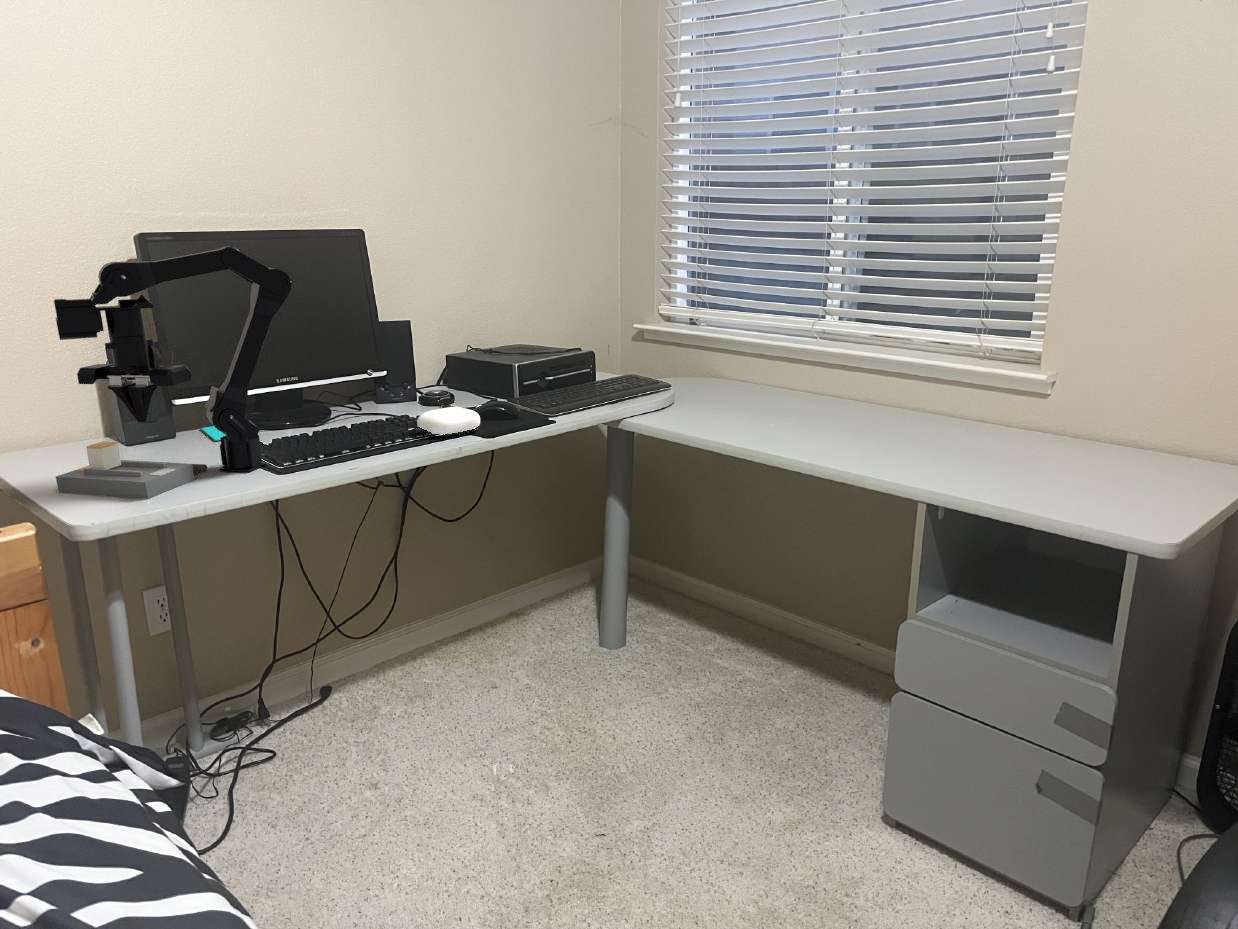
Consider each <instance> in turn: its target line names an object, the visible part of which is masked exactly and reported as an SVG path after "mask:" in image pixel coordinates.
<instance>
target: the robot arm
mask: <svg viewBox="0 0 1238 929" xmlns="http://www.w3.org/2000/svg"><path fill="white" fill-rule="evenodd" d="M226 270H229V271H231V272H232V273H234V274H235V275H237V276H238V277H240V278H242V279H243V280H245V281H246V282H248V283H250V284H251V289H250V302H249V303H250V304H249V313H248V316H247V319H246V321H245V324H244V327H243V329H242V332H241V335H240V339H239V341H238V343H237V347H236V350H235V352H234V355H233V358H232V360H231V364H230V367H229V369H228V371H227V375H226V378H225V380H224V381H223V383H222V384H221V386H220V387H219V388H218V387H215V386H213V385H212V386H210V390H209V391H210V392H209V398H208V399H207V401H206V402H205V403H204V404H203V405H204V407H205V408H206V418H208V421H209V422H210V423H211V424H212V426H214V427H215V428H216V429H218V430H219V431H221V432H222V433H223V434H225V435H226V436H223V437H221V438H220V439H221V442H220V444H219V452H220V459H221V464H222V466H220V467H218V471H221V472H222V471H225V472H238V473H239V472H242V473H249V472H252V471H254V470H257V469H258V468H260V467H262V466H261V461H263V457H262V451H261V450H262V449H261V442H260V434H259V433H260V428H259V426H257V425H256V424H255V423H254V422H252V420H250V419H249V418H247V417H246V415H247V412H248V411H247V408H248V398H249V397H248V395H249V388H250V384H251V381H252V378H253V376H254V374H255V373H254V372H255V370H256V366H257V364H258V361H259V360H260V357H261V353H262V350H263V347H264V345H265V343H266V339H267V337H268V333H269V330H270V327H271V325H272V323H273V320H274V318H275V317H276V316H277V314H278V313H279V311H280V310H281V309H282V308H283V307H284V305H285V303H286V301H287V299H288V297H289V296H290V294H291V292H292V288H293V281H292V279H291V278H290V276H289V274H287V273H286V271H284V270H281V269H277V268H272V267H267V266H265V265H264V264H262V263H261V262H258V261H256V260H255V259H254V258H252V257H250V256H247V255H246V254H245V253H243V252H241V251H240V250H239V249H238V248H236V247H234V246H222V247H220V248H217V249H212V250H207V251H201V252H196V253H191V254H186V255H180V256H174V257H169V258H164V259H159V260H154V261H153V260H150V261H149V260H143V261H142V260H141V261H134V260H131V261H130V260H129V261H127V260H125V261H111V262H108V263H105V264H103V265H102V267H101V268H100V270H99V272H98V276H97V277H98V282H99V283H98V285H97V287H96V288H95V290H94V291H93V292H91V295H90V297H89V298H78V299H77V298H74V299H66V298H55V299H53V304H54V308H55V316H56V317H55V322H56V328H57V332H58V337H59V341H66V340H67V341H68V340H80V339H81V340H82V339H93V338H94V339H95V338H98V333H99V334H100V333H101V332H104V323H103V317H102V312H104V314H105V321H106V327H107V331H108V332H107V333H108V337H109V338H108V339H109V342H105V343H104V346H105V350H111V356H112V362H113V363H97V364H93V365H92V364H91V365H88V366H83V367H80V368H79V370H78V371H77V373H76V375H77V376H76V377H77V382H78V385H95V384H96V382H97V381H98V380H109V385H108V386H107V390H111V391H112V392H113V393H114V394H115V396H116V397H118V398H119V400H120V401H121V402H122V403H123V404H124V406H125V408H127V409H128V411H129V412H130V414H131V415H132V416H133V418H135V420H136V422H137V423H141V424H142V423H145V422H147V418H148V414H149V409H150V405H151V401H152V397H153V395H154V392H155V391H156V390H157V388H158V387H160V386H161V387H171V386H177V385H179V384H184V383H186V382H190V381H193V380H192V374H191V370H190V369H189V367H187V365H185V364H184V365H183V364H182V365H181V364H180V365H179V364H178V365H177V364H175V365H174V362H173V361H174V352H172V351H169V350H166V349H161V348H157V347H155V343H154V341H153V339H152V338H148V337H147V331H146V327H145V320H144V314H143V309H153V308H154V307H155V305H154V303H153V302H151V301H149V300H148V299H147V298H145V296H144V294H141V293H140V294H138V296H137V297H136V298H127V299H125V297H129V296H132V295H134V294H137V293H139V292H142V291H145V290H147V289H150V288H151V287H155V286H156V285H159V284H161V283H164V282H169V281H175V280H180V279H185V278H190V277H195V276H199V275H200V276H201V275H206V274H211V273H214V272H221V271H226ZM123 297H124V299H117V305H108V304H109V303H110V302H112V301H113V300H114V299H116V298H123ZM98 305H105V306H98Z"/></svg>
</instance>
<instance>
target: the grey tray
mask: <svg viewBox="0 0 1238 929" xmlns="http://www.w3.org/2000/svg"><path fill="white" fill-rule="evenodd" d="M192 464H193V463H184V462H182V463H181V462H166V461H165V462H162V461H148V460H147V461H146V460H131V459H129V460H128V459H121V465H120V466H117V467H114V468H111V469H94V468H90V466H89V465H85V466H83V467H80V468H76V469H75V470H71V471H68V472H66V473H63V474H59V475H57V476H55V480H56V486H57V492H58V494H66V495H67V494H68V495H84V496H99V497H110V498H111V497H113V498H114V497H115V498H127V499H128V498H129V499H142V500H143V499H144V500H149V499H151V498H154V497H156V496H158V495H161V494H163V493H166V492H168V491H170V490H172V489H175V488H178V487H180V486H182V485H185V484H187V483H190V482H192V481H194V480H195V475H194V473H193V465H192Z"/></svg>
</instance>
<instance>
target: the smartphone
mask: <svg viewBox="0 0 1238 929" xmlns="http://www.w3.org/2000/svg"><path fill="white" fill-rule="evenodd" d="M199 430H200V431H201V432H202V433H203V434H205V436H206V437H207V438H209V439H210V440H211V441H213V442H214V443H219V442H220V443H221V439H220V438H221V437H223V436H226V435H225V434H223V433H222V432H221V431H219V430H218V429H216V428H215V427H214V426H213V425H211V426H205V427H203V426H202V427H200V428H199Z"/></svg>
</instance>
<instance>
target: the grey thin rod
mask: <svg viewBox="0 0 1238 929" xmlns="http://www.w3.org/2000/svg"><path fill="white" fill-rule="evenodd" d="M191 464H192V465H193V466H196V467H197V468H198V473H199V472H202V473H205V472H208V471H207V470H208V465H207V464H205V463H204V464H203V463H191Z"/></svg>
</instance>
